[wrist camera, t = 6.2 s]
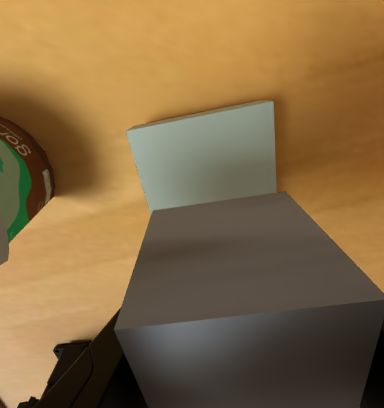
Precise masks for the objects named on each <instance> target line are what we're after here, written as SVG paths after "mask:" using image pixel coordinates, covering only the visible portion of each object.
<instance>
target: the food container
mask: <svg viewBox="0 0 384 408" xmlns="http://www.w3.org/2000/svg"><path fill="white" fill-rule="evenodd" d="M54 189H55V182H54V175H53V169H52V167H51V164H50V162H49V160H48V158H47V156H46V154H45V152H44V150H43V149H42V148H41V147H40V146H39V144H38V143H37V142H36V141H35V140H34V138H33V137H32V136H31V135H30V134H28V133H27V132H26V131H24V130H23V129H22V128H21V127H19V126H18V125H16V124H14V123H13V122H11V121H9V120H7V119H4V118H2V117H0V265H1V264H3V263H4V262H6V261H8V254H9V242H10V241H11V240H12V239H13V238H14V237H15V236H16V235H17V234H18V233H19V232H20V231H21V230H22V229H23V228H24V227H25V226H26V225H27V224H28V223H29V222H30V221H31V220H32V218H33V217H34V216H35V215H36V214H37V213H38V212H39V211H40V210H41V209H42V208H43V207H44V206H45V205H46V204H47V203H48V202H49V201H50V200H51V199H52V198H53V195H54Z"/></svg>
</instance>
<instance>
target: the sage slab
mask: <svg viewBox="0 0 384 408" xmlns="http://www.w3.org/2000/svg"><path fill="white" fill-rule="evenodd" d="M126 134H127V137H128V140H129V144H130V147H131V150H132V153H133V157H134V160H135V163H136V167H137V170H138V173H139V177H140V180H141V183H142V187H143V190H144V193H145V197H146V200H147V203H148V206H149V210H150V213H151V215H152V211H153V210H159V209H166V208H173V207H180V206H187V205H194V204H201V203H208V202H215V201H222V200H229V199H236V198H243V197H250V196H257V195H264V194H271V193H277V184H276V156H275V129H274V101H267V100H259V101H254V102H249V103H244V104H239V105H234V106H229V107H224V108H219V109H214V110H210V111H205V112H200V113H195V114H190V115H185V116H180V117H175V118H170V119H165V120H160V121H156V122H151V123H146V124H141V125H136V126H133V127H132V128H130V129H128V130H127V131H126Z"/></svg>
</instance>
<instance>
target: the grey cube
mask: <svg viewBox="0 0 384 408" xmlns="http://www.w3.org/2000/svg"><path fill="white" fill-rule="evenodd" d="M383 320H384V293H383V292H382V291H381V290H380V289H379V288H378V287H377V286H376V285H375V284H374V283H373V282H372V281H371V280H370V279H369V277H368V276H367V275H366V274H365V273H364V272H363V271H362V270H361V269H360V268H359V267H358V266H357V265H356V264H355V263H354V262H353V261H352V260H351V259H350V258H349V257H348V256H347V255H346V254H345V253H344V252H343V251H342V249H341V248H340V247H339V246H338V245H337V244H336V243H335V242H334V241H333V240H332V239H331V238H330V237H329V236H328V235H327V234H326V233H325V232H324V231H323V230H322V229H321V228H320V227H319V226H318V225H317V224H316V223H315V222H314V220H313V219H312V218H311V217H310V216H309V215H308V214H307V213H306V212H305V211H304V210H303V209H302V208H301V207H300V206H299V205H298V204H297V203H296V202H295V201H294V200H293V199H292V198H291V197H290V196H289V195H288V194H287V192H286V191H284V192H277V193H271V194H264V195H257V196H250V197H243V198H236V199H229V200H222V201H215V202H208V203H201V204H194V205H187V206H180V207H173V208H166V209H159V210H153V211H152V215H151V218H150V221H149V224H148V227H147V230H146V233H145V236H144V239H143V242H142V245H141V248H140V251H139V254H138V258H137V261H136V264H135V267H134V270H133V273H132V276H131V279H130V282H129V285H128V288H127V291H126V294H125V297H124V300H123V304H122V307H121V310H120V313H119V316H118V319H117V322H116V325H115V328H114V331H115V333H116V336H117V338H118V340H119V342H120V345H121V347H122V349H123V351H124V354H125V356H126V358H127V360H128V363H129V365H130V367H131V369H132V372H133V374H134V376H135V378H136V381H137V383H138V385H139V387H140V390H141V392H142V394H143V396H144V399H145V401H146V403H147V405H148V408H359V406H360V403H361V399H362V395H363V392H364V388H365V385H366V381H367V377H368V374H369V370H370V367H371V363H372V359H373V356H374V352H375V349H376V345H377V341H378V338H379V334H380V330H381V327H382V323H383Z"/></svg>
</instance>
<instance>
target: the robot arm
mask: <svg viewBox="0 0 384 408" xmlns="http://www.w3.org/2000/svg"><path fill="white" fill-rule="evenodd" d="M120 310H121V308H120V309H119V310H118V311H117V313H116V314H115V315H114V316H113V317H112V319H111V320H110V321H109V322H108V323H107V325H106V326H105V327H104V328H103V329H102V331H101V332H100V333H99V334H98V335H97V337H96V338H95V339H94V340H93V341H92V342H87V343H77V344H68V345H59V346H55V348H54V350H53V352H54V353H55V355H56V356H57V358H58V361H57V363H56V365H55V367H54V370H53V372H52V374H51V376H50V378H49V380H48V382H47V386H46V388H45V390H44V392H43V394H42V396H41V398H40V400H39V399H36V397H32V396H31V398H30V399H29V401H28V402H27V401H26V402H22V403H19V405H18V407H17V408H148V405H147V403H146V401H145V399H144V396H143V394H142V392H141V390H140V387H139V385H138V383H137V381H136V378H135V376H134V374H133V372H132V369H131V367H130V365H129V363H128V360H127V358H126V356H125V354H124V351H123V349H122V347H121V345H120V342H119V340H118V338H117V336H116V333H115V331H114V328H115V325H116V322H117V319H118V316H119V313H120ZM359 407H360V408H384V320H383V323H382V327H381V330H380V334H379V338H378V341H377V345H376V349H375V352H374V356H373V359H372V363H371V367H370V370H369V374H368V377H367V381H366V385H365V388H364V392H363V395H362V399H361V403H360V406H359Z"/></svg>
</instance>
